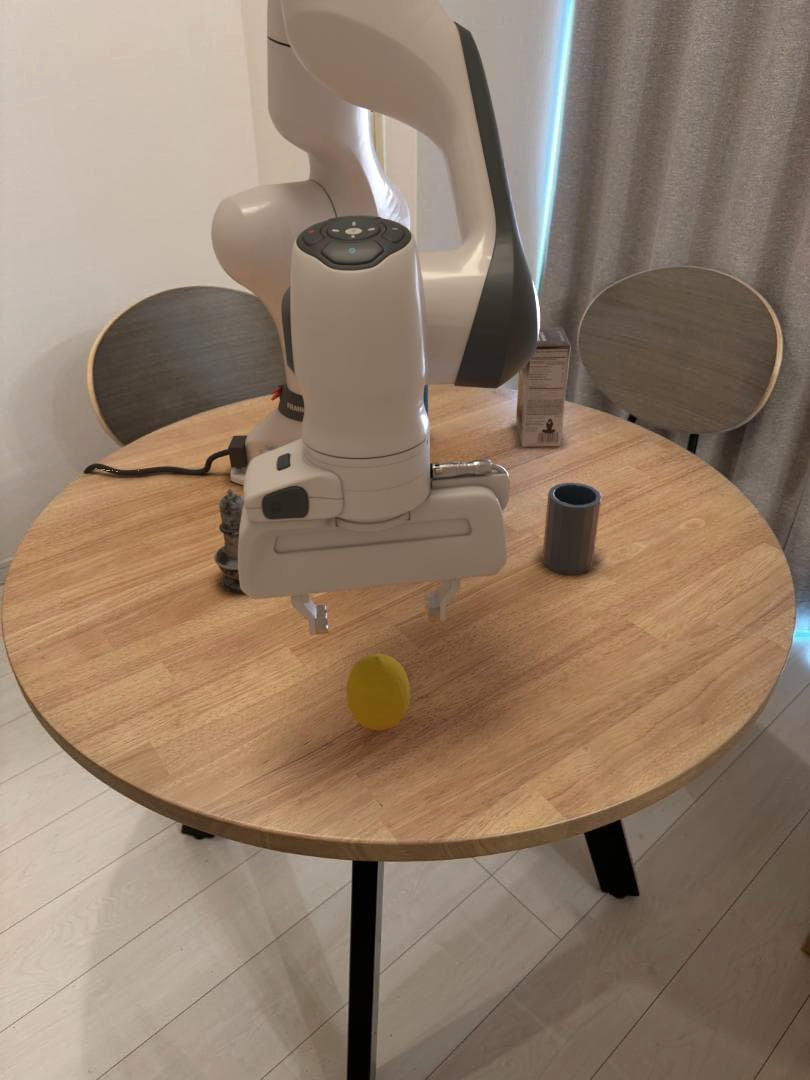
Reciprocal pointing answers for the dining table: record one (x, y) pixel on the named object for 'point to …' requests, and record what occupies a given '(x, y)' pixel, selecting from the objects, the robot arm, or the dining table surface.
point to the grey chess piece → (230, 540)
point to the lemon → (378, 692)
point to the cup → (571, 528)
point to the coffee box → (543, 390)
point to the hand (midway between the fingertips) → (377, 623)
